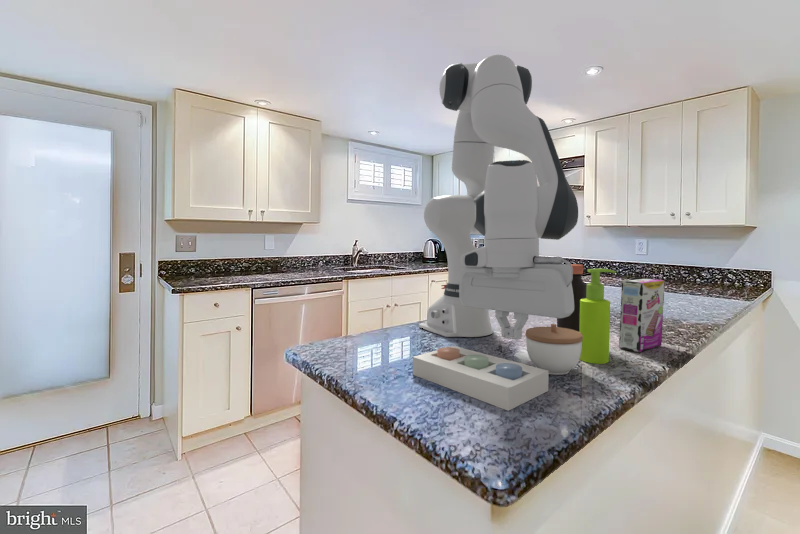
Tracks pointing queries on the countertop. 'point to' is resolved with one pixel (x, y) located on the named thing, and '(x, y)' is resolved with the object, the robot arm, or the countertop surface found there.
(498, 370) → the button slate
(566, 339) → the lidded jar
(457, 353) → the button terracotta
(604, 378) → the countertop surface
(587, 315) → the soap dispenser
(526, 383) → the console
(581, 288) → the bottle
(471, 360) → the button sage
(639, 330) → the candy bar box
